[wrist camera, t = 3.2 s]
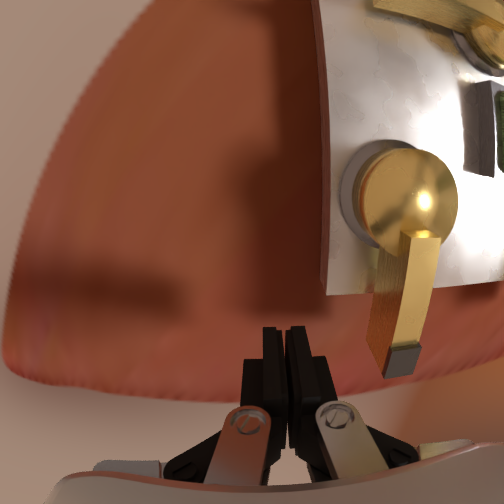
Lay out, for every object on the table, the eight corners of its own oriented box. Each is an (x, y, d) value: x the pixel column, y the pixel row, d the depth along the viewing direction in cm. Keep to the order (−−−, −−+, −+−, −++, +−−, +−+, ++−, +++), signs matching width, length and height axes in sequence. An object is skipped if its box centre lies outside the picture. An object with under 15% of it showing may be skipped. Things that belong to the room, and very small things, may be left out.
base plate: (306, -27, 10) (317, -69, 6) (537, 53, 9) (570, 48, 5) (319, 278, 16) (335, 319, 12) (537, 263, 15) (568, 284, 11)
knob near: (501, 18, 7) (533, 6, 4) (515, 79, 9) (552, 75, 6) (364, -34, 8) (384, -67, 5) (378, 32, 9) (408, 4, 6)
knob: (351, 144, 11) (381, 143, 8) (436, 153, 11) (479, 157, 8) (339, 341, 14) (353, 384, 11) (411, 333, 14) (436, 370, 11)
